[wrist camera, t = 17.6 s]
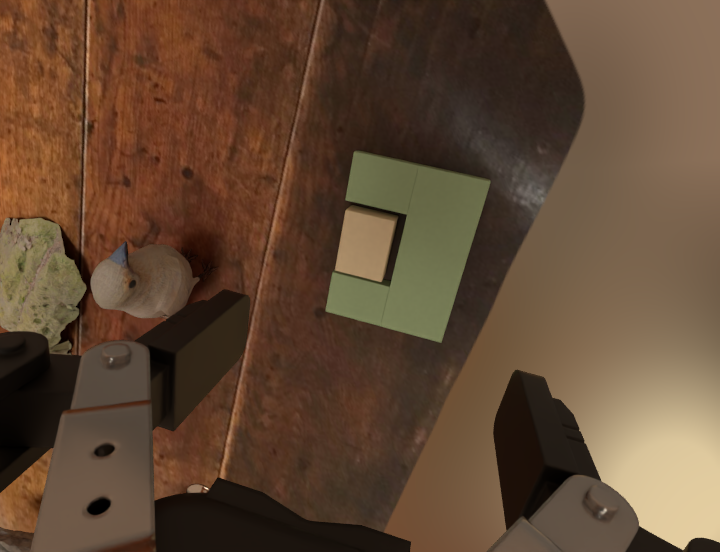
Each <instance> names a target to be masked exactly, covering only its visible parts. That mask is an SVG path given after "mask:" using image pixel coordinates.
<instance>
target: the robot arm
mask: <svg viewBox="0 0 720 552" xmlns="http://www.w3.org/2000/svg"><path fill="white" fill-rule="evenodd" d="M249 309H250V298H249V296H248V295H244V294H240V293H237V292H233V291H229V290H225V289H224V290H222V291H221V292H219V293H218V294H217V295H215V296H214V297H212V298H211V299H210V300H208V301H206V300H201V301H198V302H195V303H192V304H189V305H186V306H185V307H183V308H182V309H181V310H179V311H178V312H176V314H175V315H174V314H173V315H172V316H170V317H169V318H167V319H166V321H163V322H162V323H160V324H159V325H157V326H156V327H154V328H153V329H151V330H150V331H148V332H147V333H145V334H144V335H143V336H141V337H140V338H138V339H137V340H135V341H130V340H114V341H108V342H104V343H100V344H98V345H95V346H93V347H91V348H90V349H88V350H87V351H86V352H85V353H84V354H83V355H82V356H78V355H64V354H50V352H49V343H48V339H47V338H46V337H45V336H44V335H42V334H39V333H36V332H30V331H13V332H5V333H0V493H1V492H2V491H3V490H4V489H5V488H6V487H7V486H8V485H10V484H11V483H12V482H13V481H14V480H15V479H16V478H18V477H19V476H20V475H21V474H22V473H23V472H24V471H25V470H27V469H28V468H29V467H30V466H31V465H32V464H33V463H35V462H36V461H37V460H38V459H39V458H40V457H41V456H42V455H44V454H45V453H46V452H47V451H48V450H49V449H50V448H54V449H53V453H52V458H51V462H50V467H49V471H48V475H47V480H46V484H45V488H44V493H43V497H42V502H41V506H40V510H39V515H38V519H37V523H36V528H35V532H34V537H33V541H32V545H31V550H30V552H410V545H411V542H410V541H407V540H404V539H401V538H398V537H395V536H392V535H389V534H386V533H383V532H380V531H377V530H374V529H371V528H368V527H365V526H362V525H352V524H340V523H328V522H316V521H309V520H306V519H304V518H302V517H300V516H299V515H297V514H296V513H294V512H293V511H291V510H289V509H288V508H286V507H285V506H283V505H282V504H280V503H279V502H277V501H275V500H274V499H272V498H271V497H269V496H268V495H266V494H265V493H263V492H260V491H257V490H254V489H251V488H248V487H245V486H242V485H239V484H236V483H233V482H230V481H227V480H224V479H221V478H217V479H216V481H215V482H214V484H213V485H212V487H211V488H210V490H209V491H208V493H204V492H198V493H184V494H177V495H173V496H168V497H164V498H161V499H158V500H155V501H154V470H153V434H152V431H153V430H154V429H155V428H156V427H157V426H159V427H162V428H165V429H168V430H171V431H174V430H175V429H176V428H177V427H178V426H179V425H180V424H181V423H182V422H183V420H184V419H185V418H186V417H187V416H188V415H189V414H190V413H191V412H192V410H193V409H194V408H195V407H196V406H197V405H198V404H199V403H200V402H201V401H202V399H203V398H204V397H205V396H206V395H207V394H208V393H209V392H210V391H211V389H212V388H213V387H214V386H215V385H216V384H217V383H218V382H219V381H220V380H221V378H222V377H223V376H224V375H225V374H226V373H227V372H228V371H229V370H230V368H231V367H232V366H233V365H234V364H235V363H236V362H237V361H238V359H239V358H240V357H241V355H242V353H243V350H244V348H245V344H246V339H247V329H248V319H249ZM493 434H494V443H495V450H496V457H497V465H498V471H499V479H500V486H501V494H502V500H503V508H504V516H505V523H506V530H507V531H506V532H505V533H504V534H503V535H502V536H501V537H500V538H499V539H498V540H497V542H495V543H494V544H493V546H491V548H490V549H489V550H488V551H487V552H720V543H719V542H716V541H714V540H710V539H706V538H695V539H692V540H691V541H690V542H689V543H688V545H687V546H686V547H685V549H684V550H681V549H680V548H678V547H676V546H674V545H672V544H670V543H668V542H666V541H665V540H663V539H661V538H659V537H657V536H656V535H654V534H652V533H650V532H648V531H646V530H645V529H643V528H641V527H640V526H639V522H638V518H637V515H636V513H635V512H634V510H633V508H632V507H631V506H630V504H629V503H628V502H627V501H626V500H625V499H624V498H623V497H622V496H621V495H620V494H619V493H618V492H617V491H615V490H614V489H613V488H611V487H610V486H608V485H607V484H605V483H603V482H602V481H601V479H600V476H599V474H598V472H597V470H596V467H595V465H594V462H593V460H592V457H591V455H590V453H589V450H588V448H587V446H586V444H585V443H584V438H583V436H582V434H581V432H580V431H579V427H578V424H577V422H576V420H575V417H574V415H573V414H572V412H571V411H570V410H569V409H568V408H567V407H566V406H565V405H564V403H563V402H562V401H561V400H559V399H555V398H552V396H551V393H550V391H549V388H548V385H547V382H546V380H545V378H544V377H542V376H538V375H534V374H531V373H527V372H523V371H520V370H515V371H514V372H513V374H512V376H511V379H510V381H509V384H508V386H507V389H506V391H505V394H504V396H503V399H502V401H501V404H500V406H499V409H498V411H497V414H496V418H495V422H494V432H493Z"/></svg>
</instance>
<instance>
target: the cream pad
mask: <svg viewBox="0 0 720 552" xmlns="http://www.w3.org/2000/svg"><path fill="white" fill-rule="evenodd" d="M397 220H398V215H394V214H390V213H385V212H381V211H377V210H373V209H368V208H364V207H360V206H355V205H351V206H350V207H349V208H347V209H346V211H345V216H344V222H343V227H342V233H341V239H340V244H339V250H338V256H337V261H336V267H335V270H336V271H339V272H343V273H347V274H351V275H355V276H359V277H363V278H367V279H371V280H375V281H378V282H382V280H383V278H384V275H385V273H386V269H387V264H388V260H389V256H390V251H391V247H392V242H393V238H394V234H395V229H396V225H397Z"/></svg>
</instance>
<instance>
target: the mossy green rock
mask: <svg viewBox="0 0 720 552" xmlns="http://www.w3.org/2000/svg"><path fill="white" fill-rule="evenodd" d="M62 240H63V239H62V237H61V230H60V226H59V225H58V224H56V223H53V222H50V221H47V220H44V219H42V218H34V219H22V220H19V224H18V219H15V218H13V220H12V222H11V226H10V218H6V219H5V221H4V224H3V226H2V229H1V233H0V325H1V327H2V328H4V329H7V330H8V331H10V332H13V331H30V332H36V333H39V334H42V335H44V336H45V337H46V338H47V339H48V343H49V352H50V354H64V355H71V352H70V353H68V354H67V352H68V350H70V349H71V346H72V345H71V343H69V340H67V341H65V342H61V343H58V342H59V341H60V340H61V337H60V333H61V331H62V330H64V329H65V326H66V325H67V324H68V323H70V322H72V321H73V320H75V319H76V318H77V316H78V315H79V309H78V308H77V307H75V306H77V304H78V302H79V301H80V300H81V298H82V297H83V295H84V293H85V291H86V289H87V288H86V284H84V282H83V281H82V279H81V276H80V274H79V270H78V269H77V267H76V265H75V263H74V260H71V259H70V258H68V257H67V256H66V255H65V249H64V245H63V241H62Z"/></svg>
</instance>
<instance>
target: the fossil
mask: <svg viewBox="0 0 720 552" xmlns="http://www.w3.org/2000/svg"><path fill="white" fill-rule="evenodd" d="M33 537H34V533H28V532H23V531H13V530H9V529H4V528H1V527H0V552H30V550H31V545H32V541H33Z"/></svg>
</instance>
